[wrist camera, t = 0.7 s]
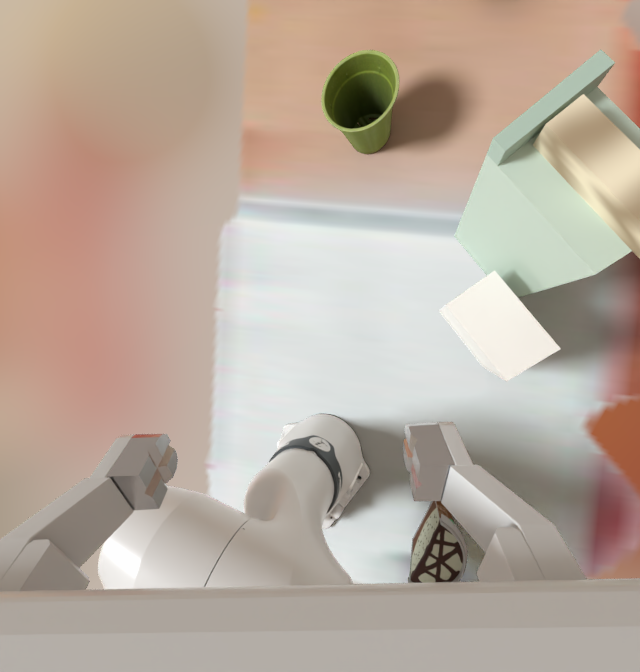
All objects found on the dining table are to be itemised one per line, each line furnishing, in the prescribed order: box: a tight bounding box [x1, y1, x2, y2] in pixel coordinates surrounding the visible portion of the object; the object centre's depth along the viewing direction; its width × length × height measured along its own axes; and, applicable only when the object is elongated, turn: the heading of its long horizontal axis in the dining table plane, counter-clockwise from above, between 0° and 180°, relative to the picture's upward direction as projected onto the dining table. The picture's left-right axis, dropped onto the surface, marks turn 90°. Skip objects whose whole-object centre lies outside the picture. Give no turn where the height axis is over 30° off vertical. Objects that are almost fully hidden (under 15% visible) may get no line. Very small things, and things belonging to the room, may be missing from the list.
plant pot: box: [321, 50, 399, 154], centre depth 53 cm, size 12×12×11 cm
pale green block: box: [454, 50, 640, 298], centre depth 38 cm, size 14×9×30 cm, turn 36°
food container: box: [408, 501, 467, 583], centre depth 52 cm, size 12×6×10 cm, turn 156°
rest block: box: [439, 270, 561, 381], centre depth 46 cm, size 12×7×15 cm, turn 37°
